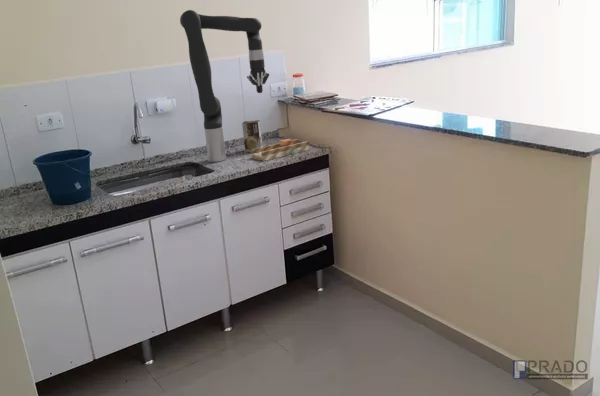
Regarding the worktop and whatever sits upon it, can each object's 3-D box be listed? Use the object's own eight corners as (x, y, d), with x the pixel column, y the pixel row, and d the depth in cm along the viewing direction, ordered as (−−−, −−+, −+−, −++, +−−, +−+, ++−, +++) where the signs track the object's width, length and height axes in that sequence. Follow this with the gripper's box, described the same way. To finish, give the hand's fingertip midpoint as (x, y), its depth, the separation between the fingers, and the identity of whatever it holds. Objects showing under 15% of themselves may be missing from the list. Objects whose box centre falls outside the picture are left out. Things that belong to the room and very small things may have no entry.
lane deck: (263, 161, 279) (262, 152, 278) (252, 157, 288) (251, 149, 286) (310, 149, 296) (309, 141, 294) (298, 146, 304) (297, 138, 303)
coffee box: (263, 148, 307) (260, 119, 302) (261, 151, 301) (258, 122, 296) (247, 149, 308) (244, 120, 303) (244, 152, 302) (241, 123, 297)
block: (285, 149, 290) (284, 141, 289) (280, 147, 294) (279, 140, 292) (293, 147, 292) (292, 140, 291) (287, 146, 296) (287, 138, 295)
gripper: (249, 60, 276) (253, 95, 281) (271, 57, 283) (274, 91, 288) (241, 60, 281) (245, 94, 287) (263, 57, 289) (266, 90, 294)
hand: (259, 92), depth 288 cm, fingers closed
